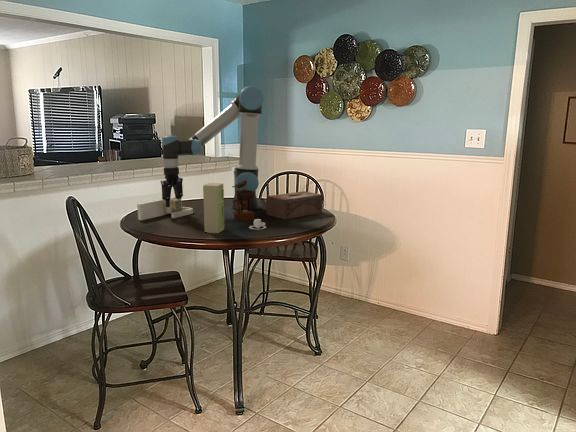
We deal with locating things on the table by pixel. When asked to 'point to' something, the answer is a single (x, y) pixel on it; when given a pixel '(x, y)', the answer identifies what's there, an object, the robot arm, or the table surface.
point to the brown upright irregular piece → (243, 195)
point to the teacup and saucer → (258, 224)
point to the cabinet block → (175, 205)
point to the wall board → (158, 210)
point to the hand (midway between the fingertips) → (173, 211)
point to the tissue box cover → (294, 204)
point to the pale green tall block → (213, 207)
